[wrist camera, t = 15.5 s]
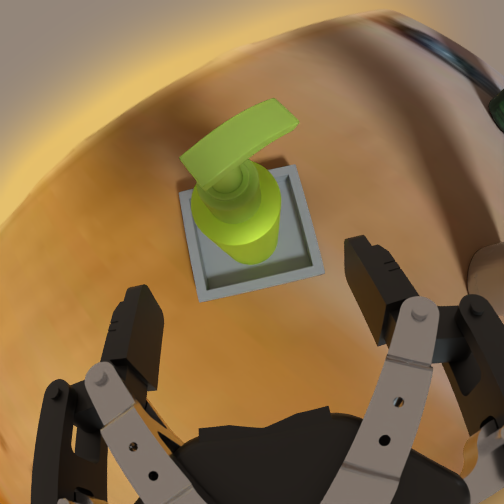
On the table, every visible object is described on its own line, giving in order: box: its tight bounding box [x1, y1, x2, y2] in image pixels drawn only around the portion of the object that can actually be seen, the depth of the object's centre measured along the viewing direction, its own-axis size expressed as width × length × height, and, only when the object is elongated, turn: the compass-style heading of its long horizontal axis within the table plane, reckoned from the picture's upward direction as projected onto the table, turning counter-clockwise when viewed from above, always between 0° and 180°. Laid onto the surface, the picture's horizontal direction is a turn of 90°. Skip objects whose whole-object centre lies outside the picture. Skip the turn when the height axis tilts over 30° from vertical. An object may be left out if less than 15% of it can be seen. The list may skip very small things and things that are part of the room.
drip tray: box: [179, 165, 325, 302], centre depth 31 cm, size 13×12×2 cm
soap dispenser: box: [179, 98, 299, 265], centre depth 22 cm, size 6×7×20 cm
